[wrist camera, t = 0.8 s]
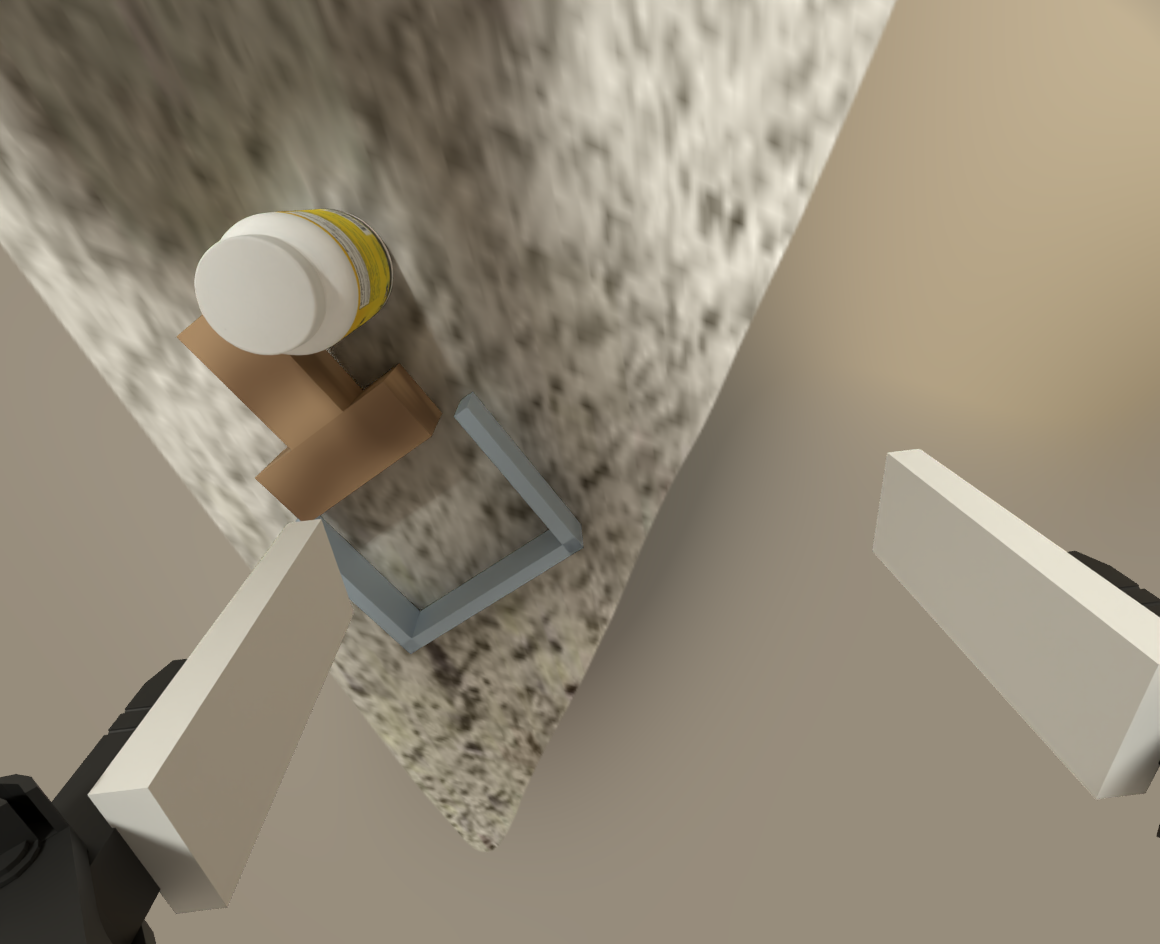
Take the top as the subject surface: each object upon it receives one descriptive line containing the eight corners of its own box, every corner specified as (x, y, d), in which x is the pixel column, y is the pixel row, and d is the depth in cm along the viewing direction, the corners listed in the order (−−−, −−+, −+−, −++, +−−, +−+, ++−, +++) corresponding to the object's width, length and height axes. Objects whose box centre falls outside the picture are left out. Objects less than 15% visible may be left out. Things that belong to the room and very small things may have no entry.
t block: (180, 351, 35) (138, 369, 31) (302, 248, 33) (271, 255, 29) (327, 495, 39) (305, 525, 36) (442, 413, 37) (431, 436, 34)
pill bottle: (302, 328, 35) (204, 381, 25) (269, 214, 32) (144, 222, 22) (407, 317, 35) (351, 366, 25) (382, 203, 32) (309, 206, 22)
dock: (300, 515, 40) (282, 538, 37) (472, 391, 37) (467, 407, 34) (418, 626, 44) (410, 654, 42) (581, 524, 41) (583, 547, 39)
